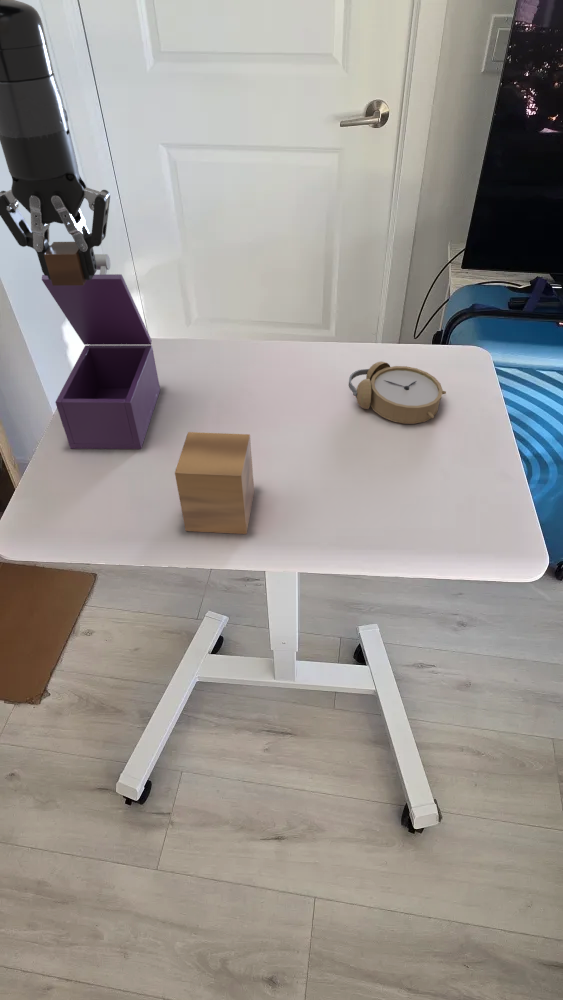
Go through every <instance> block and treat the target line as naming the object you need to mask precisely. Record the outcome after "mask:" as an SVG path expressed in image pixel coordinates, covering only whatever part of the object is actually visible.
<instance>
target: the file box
mask: <svg viewBox="0 0 563 1000" xmlns="http://www.w3.org/2000/svg"><path fill="white" fill-rule="evenodd" d="M157 370H158V369H157V364H156V360H155V353H154V348H153V345H152V344H151V345H84V347H83V349H82V350H81V352H80V354H79V355H78V357H77V360H76V363H75V364H74V366H73V367H72V370H71V371H70V373H69V376H68V377H67V379H66V381H65V383H64V385H63V387H62V389H61V390H60V393H59V394H58V395H57V398H56V399H55V402H54V403H55V406H56V409H57V412H58V415H59V418H60V421H61V425H62V427H63V430H64V433H65V437H66V440H67V442H68V446H69V449H78V450H81V449H84V450H85V449H86V450H87V449H90V450H94V449H95V450H96V449H97V450H102V449H103V450H142V448H143V446H144V441H145V438H146V436H147V433H148V432H147V431H148V430H149V426H150V423H151V421H152V420H151V419H152V417H153V413H154V411H155V408H156V404H157V402H158V399H159V395H160V392H161V386H160V382H159V376H158V375H159V374H158V371H157Z"/></svg>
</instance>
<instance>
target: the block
mask: <svg viewBox="0 0 563 1000" xmlns="http://www.w3.org/2000/svg"><path fill="white" fill-rule="evenodd" d="M78 252H79V248H78V246H77V245H76V243H75V241H53V242H52V243H51V246H50V247H49V248H48V250H47V251H46V252H45V253H44V257H45V260H46V264H47V267H48V271H49V274H50V278H51V281H52V285H53V286H76V285H84V284H85V282H86V281H87V280H85V278H84V274H83V270H82V266H81V262H80V258H79V254H78Z"/></svg>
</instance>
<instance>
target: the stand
mask: <svg viewBox="0 0 563 1000" xmlns="http://www.w3.org/2000/svg"><path fill="white" fill-rule="evenodd" d="M174 476H175V481H176V487H177V492H178V497H179V505H180V508H181V514H182V519H183V525H184V530H185V532H198V533H200V532H201V533H216V534H235V535H237V534H238V535H247V533H248V529H249V523H250V519H251V512H252V507H253V501H254V496H255V483H254V469H253V456H252V443H251V434H247V433H223V432H198V431H196V432H195V431H194V432H193V431H187V434H186V437H185V441H184V444H183V446H182V450H181V453H180V456H179V459H178V462H177V464H176V468H175V471H174Z"/></svg>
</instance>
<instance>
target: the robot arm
mask: <svg viewBox="0 0 563 1000" xmlns="http://www.w3.org/2000/svg"><path fill="white" fill-rule="evenodd" d="M43 24H44V23H43V20H42V18H41V16H40V14H39V12H38V11H37V9H36V8H35V7H33V6H32V5H30V4H29V3H25V2H23V1H19V0H0V145H1V149H2V152H3V156H4V158H5V159H4V160H5V162H6V165H7V169H8V172H9V174H10V176H11V181H12V183H11V189H9V190H7V191H6V190H1V191H0V217H1V219H2V221H3V222H4V224H5V225H6V227H7V228H8V230H9V232H10V233H11V235H12V237H13V238H14V239H15V241H16V242H17V244H18V245H19V246H20V247H22V248H25V247H28V248H32V249H33V250H34V251H35V252H36V255H37V258H38V262H39V265H40V268H41V272H42V274H43V275H45V276H48V278H49V280H51V278H50V274H49V271H48V267H47V264H46V260H45V257H44V253H45V252H46V251H47V250H48V248H49V247H50V246H51V245H52V244H51V245H50V226H51V224H53V223H57V224H61V225H64V227H65V229H66V230H67V233H68V234H69V235H71V236H72V237H71V238H72V239H73V240H74V241H73V242H75V243H76V245H77V246H78V248H79V252H78V254H79V258H80V262H81V266H82V270H83V274H84V278H85V280H91V279H92V278H93V276H94V275H96V272H97V271H98V270H97V264H96V260H95V255H94V254H95V250H94V247H100V246H101V244H102V243H103V241H104V240H105V238H106V236H107V227H108V219H109V210H110V202H111V193H110V192H109V191H108V190H107V189H101V191H99V190H96V189H94V188H91V187H87V185H86V182H85V181H84V180H83V179H82V177H81V175H80V172H79V166H78V162H77V161H78V160H77V158H76V153H75V148H74V144H73V139H72V135H71V130H70V126H69V117H68V113H67V110H66V109H65V104H64V99H63V97H62V93H61V90H60V88H59V85H58V81H57V79H56V75H55V73H54V72H55V71H54V67H53V63H52V59H51V54H50V50H49V46H48V45H49V44H48V42H47V41H48V40H47V36H46V32H45V28H44V25H43ZM84 200H86V201H87V202H88V208H89V209H90V210H91V211H92V212H93V216H92V225H91V232H90V230H89V228H88V226H87V224H86V223H87V221H86V218H85V217H84V214H83V212H82V210H81V207H82V205H83V202H84ZM19 205H22V207H23V208H24V209H25V210H26V211H27V212H28V213H29V214H30V225H29V224H28V222H27V221H26V218H25V217H24V215H23V214H22V213H21V211H20V209H19Z"/></svg>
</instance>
